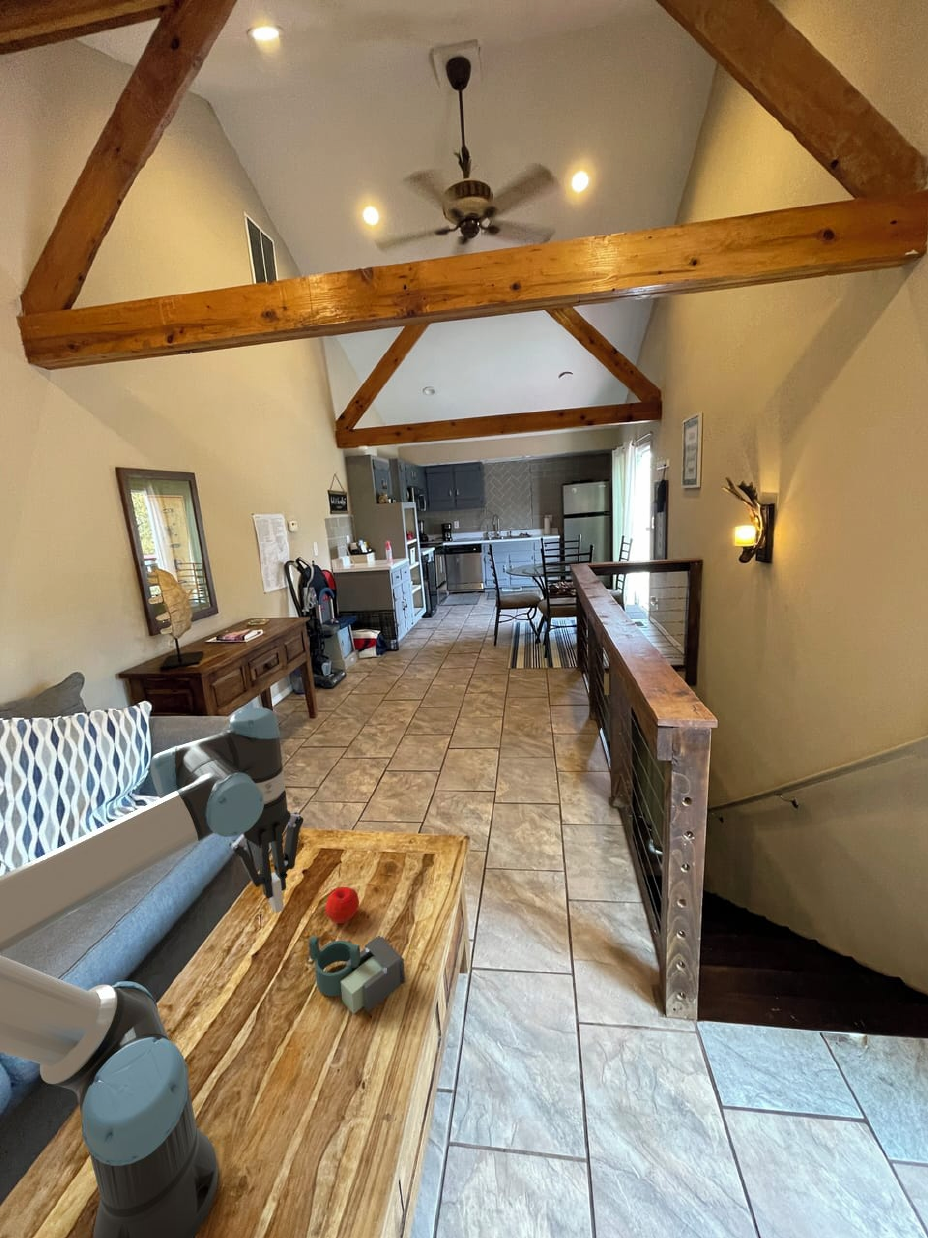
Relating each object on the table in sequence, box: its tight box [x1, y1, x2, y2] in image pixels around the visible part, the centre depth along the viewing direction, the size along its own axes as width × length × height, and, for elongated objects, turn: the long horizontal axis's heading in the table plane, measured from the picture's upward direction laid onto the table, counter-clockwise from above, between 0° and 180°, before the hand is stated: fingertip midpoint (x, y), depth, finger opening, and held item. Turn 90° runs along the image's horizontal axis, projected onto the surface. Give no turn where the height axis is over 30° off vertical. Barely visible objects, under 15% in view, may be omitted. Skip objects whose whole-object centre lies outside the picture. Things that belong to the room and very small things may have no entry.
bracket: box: [308, 936, 361, 997], centre depth 106 cm, size 9×9×9 cm
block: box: [341, 956, 383, 1015], centre depth 104 cm, size 10×4×5 cm, turn 136°
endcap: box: [344, 935, 406, 1013], centre depth 105 cm, size 9×8×7 cm
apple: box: [325, 886, 360, 924], centre depth 122 cm, size 8×8×7 cm
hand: (277, 907), depth 94 cm, fingers closed
